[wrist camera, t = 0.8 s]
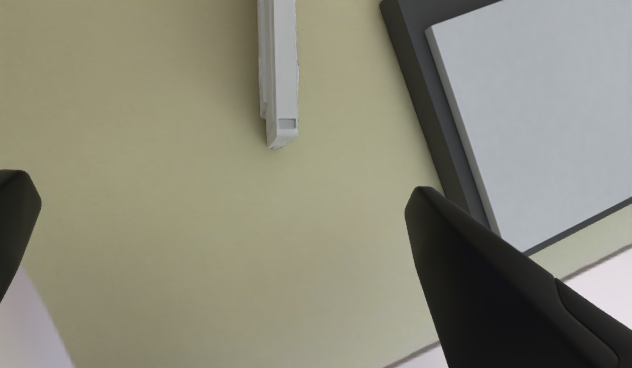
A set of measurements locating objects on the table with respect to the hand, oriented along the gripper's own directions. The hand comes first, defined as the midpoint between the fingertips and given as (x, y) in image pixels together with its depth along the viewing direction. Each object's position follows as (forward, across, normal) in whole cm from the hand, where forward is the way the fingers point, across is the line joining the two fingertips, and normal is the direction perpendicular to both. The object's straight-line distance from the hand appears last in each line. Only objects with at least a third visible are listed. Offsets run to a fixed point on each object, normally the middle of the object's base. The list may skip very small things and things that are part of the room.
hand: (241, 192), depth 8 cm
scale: (+13, -20, +3) cm, 24 cm away
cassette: (+15, -1, +2) cm, 15 cm away
